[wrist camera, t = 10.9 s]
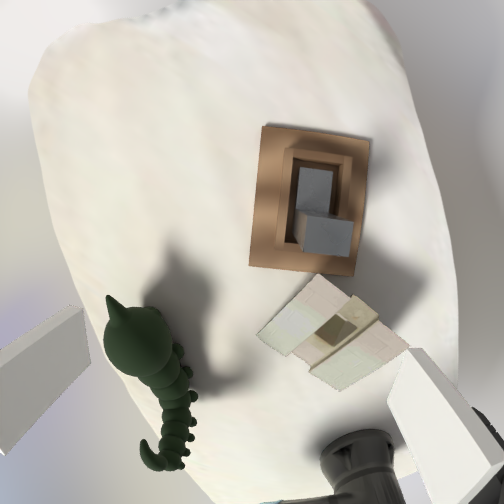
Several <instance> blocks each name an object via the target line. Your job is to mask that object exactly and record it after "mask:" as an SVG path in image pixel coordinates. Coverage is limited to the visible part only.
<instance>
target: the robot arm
mask: <svg viewBox="0 0 504 504" xmlns="http://www.w3.org/2000/svg"><path fill="white" fill-rule="evenodd" d="M90 364H91V360H90V354H89V348H88V342H87V335H86V328H85V321H84V311H83V308H79V307H76V306H72V305H69V306H67V307H66V308H64V309H63V310H61V311H59V312H58V313H56V314H55V315H53V316H51V317H50V318H48V319H47V320H45V321H43V322H42V323H40V324H39V325H37V326H36V327H34V328H33V329H31V330H30V331H28V332H27V333H25V334H23V335H22V336H20V337H19V338H18V339H16V340H14V341H13V342H11V343H10V344H8V345H7V346H5V347H4V348H3V349H0V453H2V454H3V455H5V456H6V455H7V453H8V452H9V451H10V450H11V449H12V448H13V447H14V446H15V445H16V443H17V442H18V441H19V440H20V439H21V438H22V437H23V436H24V434H25V433H26V432H27V431H28V430H29V429H30V428H31V427H32V426H33V425H34V423H35V422H36V421H37V420H38V419H39V418H40V417H41V416H42V414H44V413H45V411H46V410H47V409H48V408H49V407H50V406H51V405H52V404H53V403H54V402H55V401H56V400H57V399H58V397H60V395H61V394H62V393H63V392H64V391H65V390H66V389H67V388H68V387H69V386H70V385H71V384H72V383H73V382H74V381H75V380H76V379H77V378H78V376H80V375H81V373H82V372H83V371H84V370H85V369H86V368H87V367H88V366H89V365H90ZM386 402H387V404H388V406H389V408H390V410H391V412H392V414H393V417H394V419H395V421H396V423H397V425H398V427H399V429H400V431H401V433H402V436H403V438H404V440H405V442H406V444H407V446H408V449H409V451H410V453H411V455H412V458H413V460H414V462H415V464H416V467H417V469H418V471H419V473H420V476H421V478H422V480H423V483H424V485H425V487H426V490H427V492H428V495H429V497H430V499H431V502H432V504H504V440H503V439H502V438H501V436H500V435H499V434H498V432H496V430H495V428H494V427H493V426H492V425H490V422H489V421H488V419H487V418H486V417H485V416H484V414H482V413H481V412H480V411H478V410H477V409H475V408H474V407H470V406H469V404H468V403H467V401H466V400H465V399H464V398H463V396H462V395H461V394H460V393H459V392H458V390H457V389H456V388H455V387H454V385H453V384H452V383H451V382H450V381H449V379H448V378H447V377H446V376H445V375H444V373H443V372H442V371H441V370H440V369H439V367H438V366H437V365H436V364H435V363H434V362H433V360H432V359H431V358H430V357H429V356H428V355H427V353H426V352H425V351H424V350H423V349H422V348H407V349H406V352H405V355H404V358H403V360H402V363H401V366H400V369H399V371H398V374H397V376H396V379H395V382H394V384H393V387H392V389H391V391H390V394H389V396H388V399H387V401H386ZM320 465H321V470H322V472H323V474H324V475H325V477H326V479H327V480H328V482H329V483H330V485H331V486H332V488H333V489H334V495H329V496H322V497H315V498H307V499H297V500H279V501H275V502H264V503H260V504H406V503H405V500H404V497H403V494H402V491H401V489H400V486H399V483H398V480H397V478H396V475H395V472H394V469H393V467H394V444H393V442H392V439H391V437H390V435H389V434H388V433H386V432H384V431H381V430H375V429H369V430H361V431H357V432H353V433H350V434H347V435H345V436H343V437H341V438H339V439H337V440H335V441H334V442H332V443H331V444H330V445H329V446H327V447H326V449H325V450H324V451H323V452H322V454H321V457H320Z"/></svg>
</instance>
